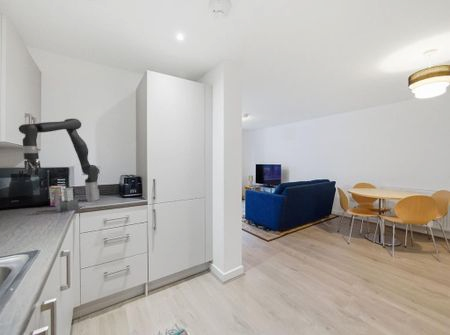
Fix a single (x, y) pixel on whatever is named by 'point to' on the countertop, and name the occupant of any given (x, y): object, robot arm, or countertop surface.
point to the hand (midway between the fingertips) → (33, 175)
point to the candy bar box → (51, 192)
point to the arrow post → (57, 201)
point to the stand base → (69, 206)
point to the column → (68, 194)
